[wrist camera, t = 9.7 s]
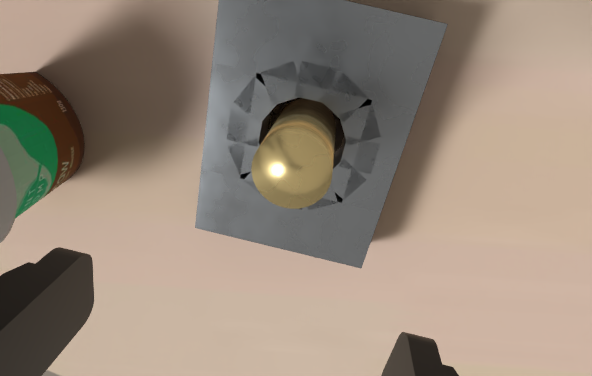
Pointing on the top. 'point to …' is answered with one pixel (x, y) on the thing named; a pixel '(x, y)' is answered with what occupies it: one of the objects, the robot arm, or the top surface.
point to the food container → (34, 143)
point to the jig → (318, 87)
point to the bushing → (296, 155)
